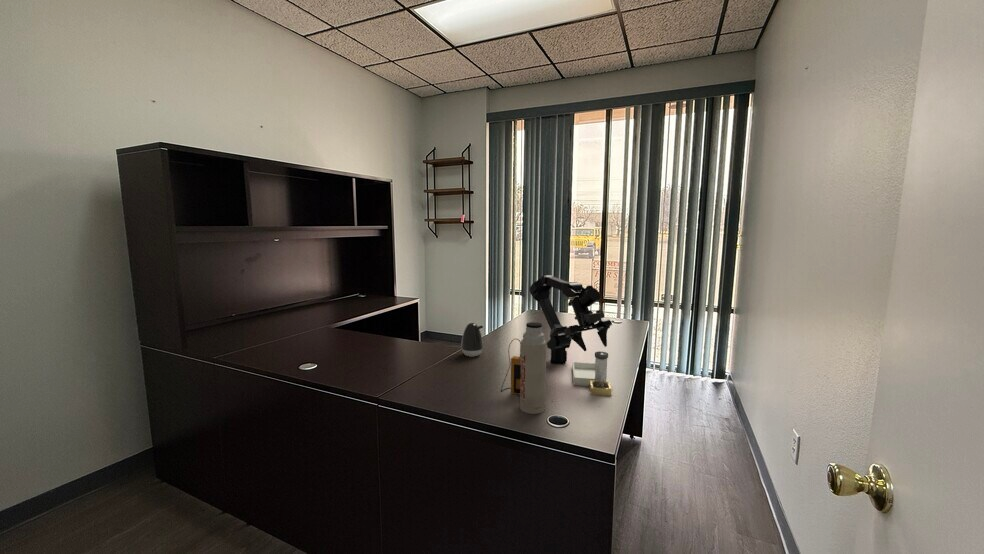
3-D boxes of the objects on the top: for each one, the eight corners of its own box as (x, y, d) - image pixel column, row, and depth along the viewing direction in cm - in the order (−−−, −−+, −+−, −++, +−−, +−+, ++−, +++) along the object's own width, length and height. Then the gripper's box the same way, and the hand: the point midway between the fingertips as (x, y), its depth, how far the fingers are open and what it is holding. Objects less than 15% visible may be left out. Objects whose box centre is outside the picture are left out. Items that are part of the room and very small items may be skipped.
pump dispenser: (478, 359, 174) (478, 326, 172) (457, 357, 178) (457, 324, 176) (486, 353, 183) (487, 321, 182) (466, 350, 187) (466, 319, 185)
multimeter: (546, 387, 143) (547, 334, 141) (541, 398, 134) (542, 341, 131) (508, 382, 148) (508, 331, 146) (500, 392, 138) (500, 337, 136)
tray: (573, 385, 146) (574, 377, 145) (572, 368, 163) (572, 361, 163) (602, 387, 144) (602, 379, 143) (597, 370, 162) (597, 363, 161)
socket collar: (591, 394, 137) (591, 387, 137) (589, 386, 144) (589, 380, 144) (611, 395, 136) (611, 389, 136) (608, 388, 143) (609, 381, 143)
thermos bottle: (522, 414, 122) (523, 326, 119) (518, 403, 130) (519, 320, 127) (547, 413, 123) (549, 326, 120) (541, 402, 131) (543, 320, 127)
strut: (594, 393, 138) (595, 355, 137) (592, 388, 143) (594, 351, 141) (607, 394, 138) (609, 355, 136) (605, 389, 142) (607, 351, 140)
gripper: (569, 307, 146) (584, 346, 140) (611, 300, 152) (627, 337, 146) (558, 318, 156) (571, 355, 150) (597, 310, 162) (612, 346, 156)
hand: (595, 348), depth 150 cm, fingers open, 9 cm apart
